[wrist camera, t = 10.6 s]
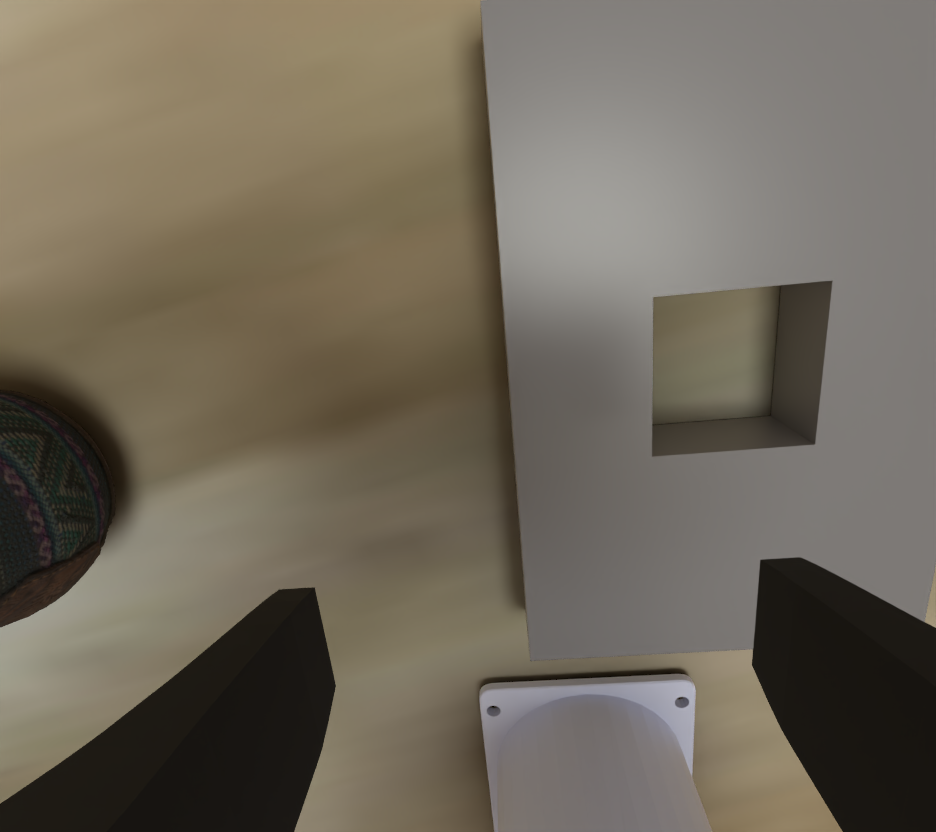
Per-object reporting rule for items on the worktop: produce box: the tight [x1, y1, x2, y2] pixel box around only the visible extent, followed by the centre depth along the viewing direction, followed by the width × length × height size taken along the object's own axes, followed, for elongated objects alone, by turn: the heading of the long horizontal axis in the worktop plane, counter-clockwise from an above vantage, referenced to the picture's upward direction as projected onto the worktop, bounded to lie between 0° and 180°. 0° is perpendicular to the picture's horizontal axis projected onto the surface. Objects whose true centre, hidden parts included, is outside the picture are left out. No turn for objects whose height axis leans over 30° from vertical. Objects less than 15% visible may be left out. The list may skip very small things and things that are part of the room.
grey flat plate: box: [481, 0, 936, 661], centre depth 16 cm, size 18×12×2 cm, turn 6°
